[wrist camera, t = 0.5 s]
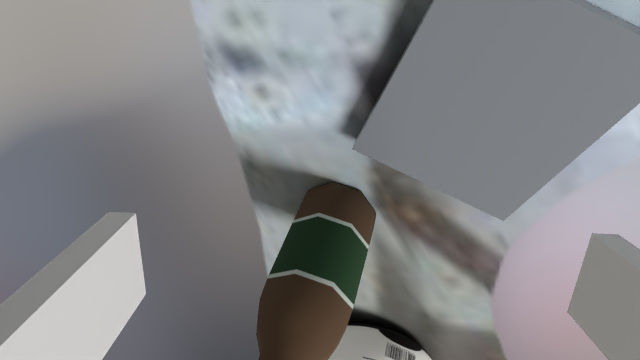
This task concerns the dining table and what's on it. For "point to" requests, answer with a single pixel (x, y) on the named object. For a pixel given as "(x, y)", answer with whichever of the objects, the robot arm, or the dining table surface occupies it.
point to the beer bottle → (316, 276)
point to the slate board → (502, 96)
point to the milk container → (376, 345)
